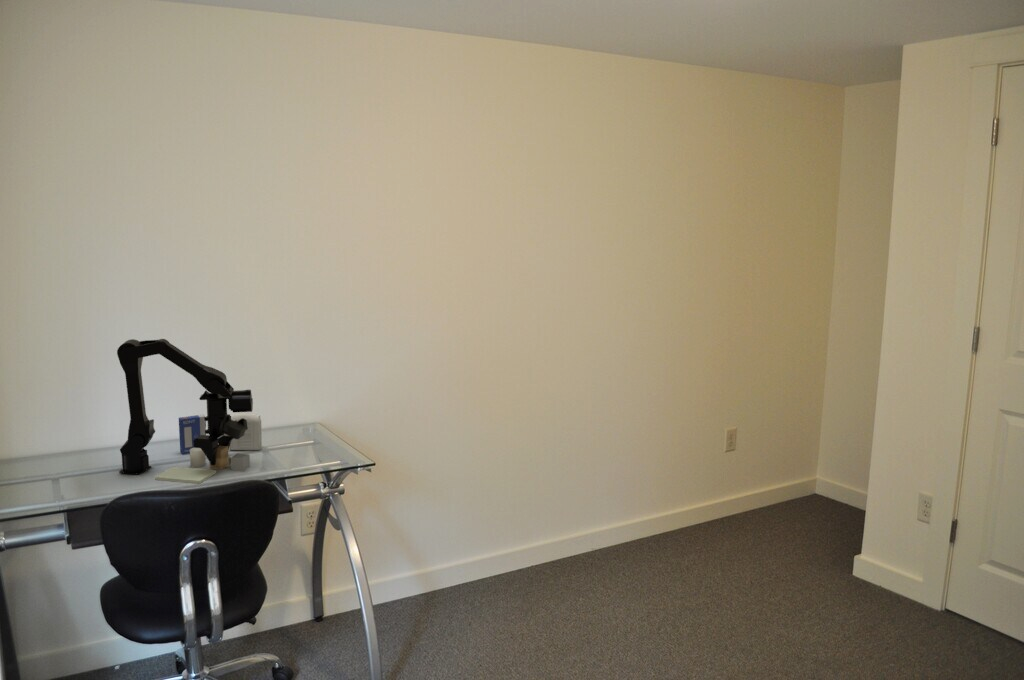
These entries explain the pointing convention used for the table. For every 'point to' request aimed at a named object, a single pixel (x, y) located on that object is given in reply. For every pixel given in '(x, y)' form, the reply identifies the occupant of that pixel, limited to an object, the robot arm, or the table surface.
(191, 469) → the sage board
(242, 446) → the photo printer
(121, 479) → the table surface
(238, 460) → the grey cube
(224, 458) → the oak block
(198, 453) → the white cylinder
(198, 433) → the walkman
